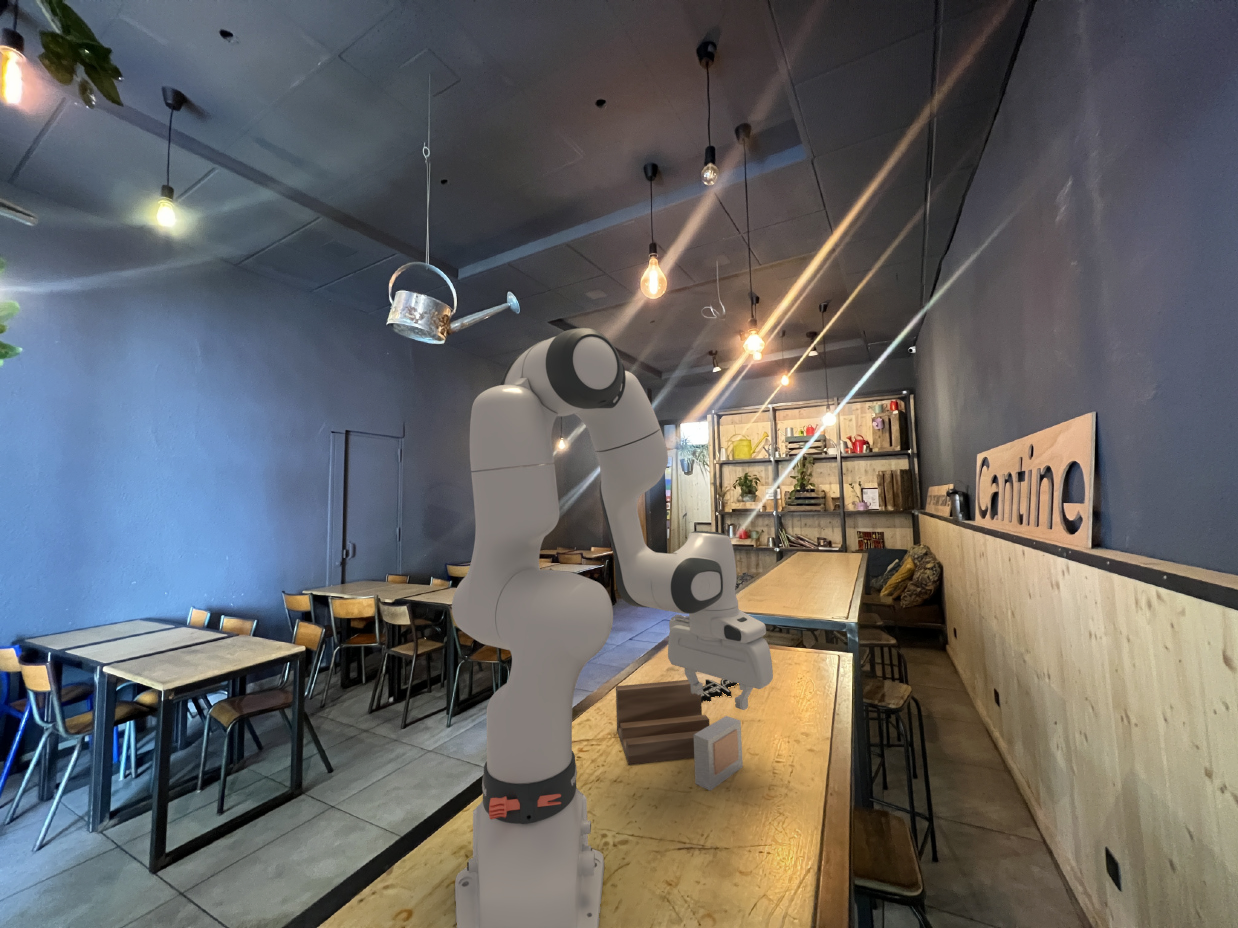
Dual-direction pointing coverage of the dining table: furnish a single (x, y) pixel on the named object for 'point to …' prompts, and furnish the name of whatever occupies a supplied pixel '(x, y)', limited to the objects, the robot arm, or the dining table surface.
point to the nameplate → (716, 689)
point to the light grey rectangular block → (717, 752)
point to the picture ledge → (658, 720)
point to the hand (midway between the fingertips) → (718, 700)
